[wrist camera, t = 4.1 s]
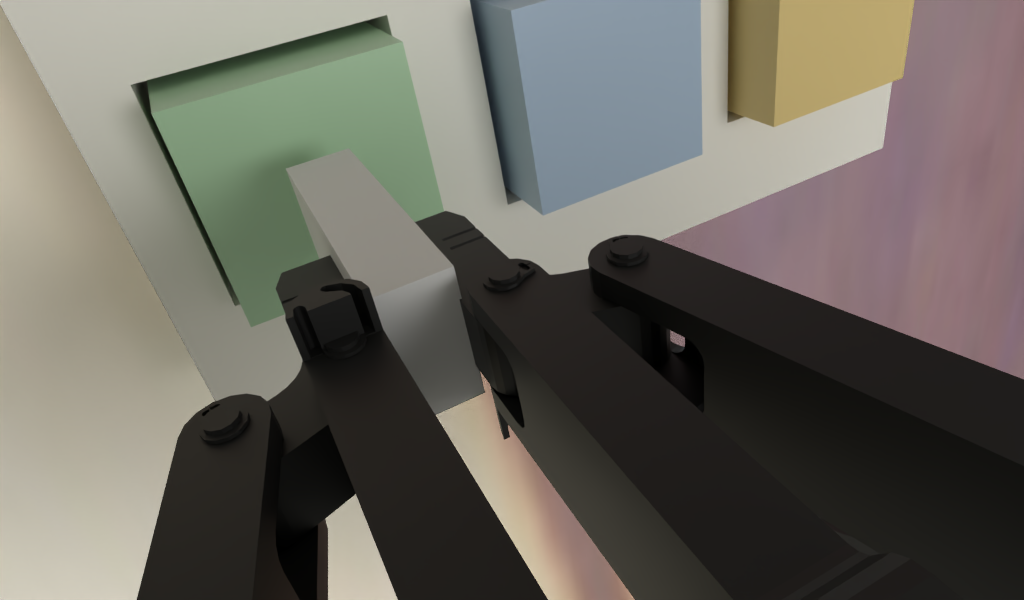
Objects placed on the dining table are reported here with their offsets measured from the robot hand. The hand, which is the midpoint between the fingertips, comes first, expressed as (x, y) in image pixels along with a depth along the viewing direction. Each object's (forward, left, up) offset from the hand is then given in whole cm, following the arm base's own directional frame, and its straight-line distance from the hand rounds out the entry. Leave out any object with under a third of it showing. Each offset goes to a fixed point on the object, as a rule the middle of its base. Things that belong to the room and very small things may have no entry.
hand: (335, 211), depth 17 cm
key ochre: (-18, 0, -6) cm, 19 cm away
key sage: (0, 0, -6) cm, 6 cm away
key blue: (-9, 0, -6) cm, 11 cm away
